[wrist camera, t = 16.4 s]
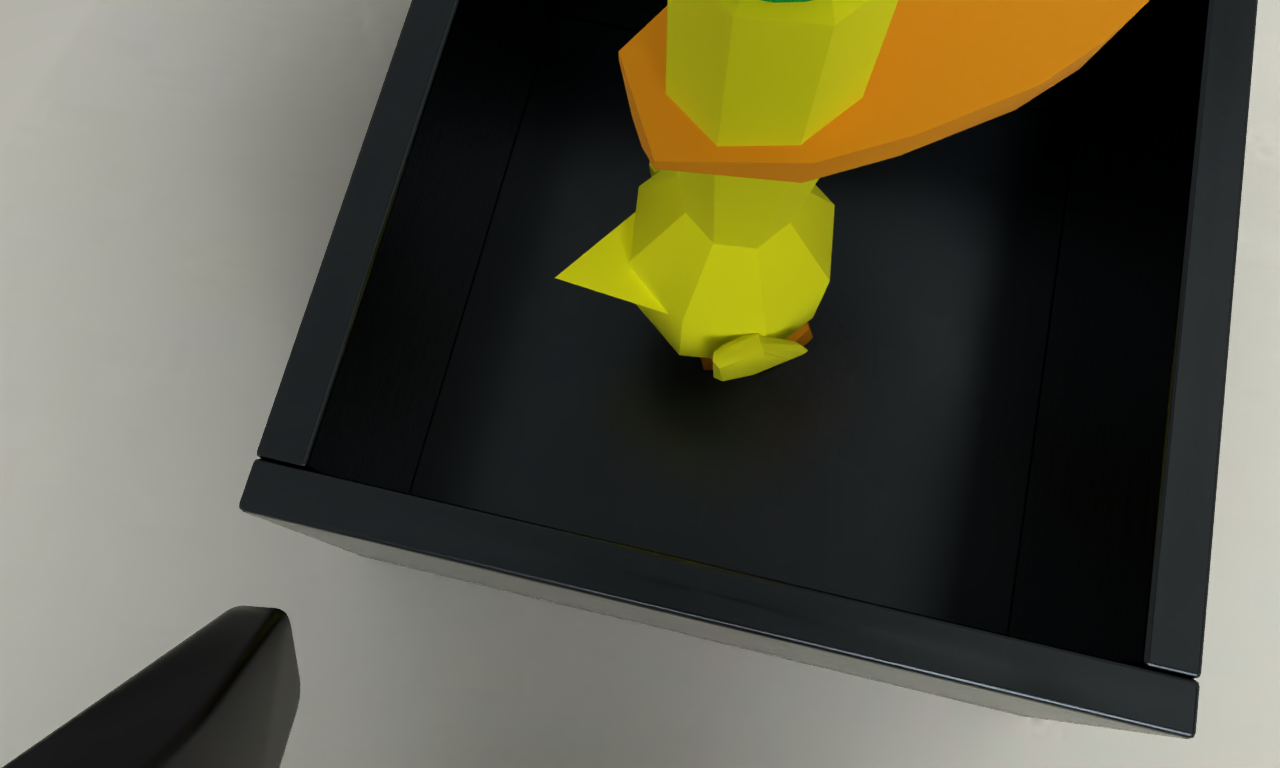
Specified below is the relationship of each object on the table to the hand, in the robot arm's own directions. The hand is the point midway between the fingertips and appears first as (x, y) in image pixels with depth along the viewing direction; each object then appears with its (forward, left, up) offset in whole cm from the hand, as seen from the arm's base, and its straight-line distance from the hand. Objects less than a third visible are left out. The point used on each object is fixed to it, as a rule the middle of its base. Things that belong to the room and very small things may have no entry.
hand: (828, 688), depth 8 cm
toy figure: (+6, +1, -9) cm, 11 cm away
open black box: (+6, +1, -9) cm, 11 cm away
